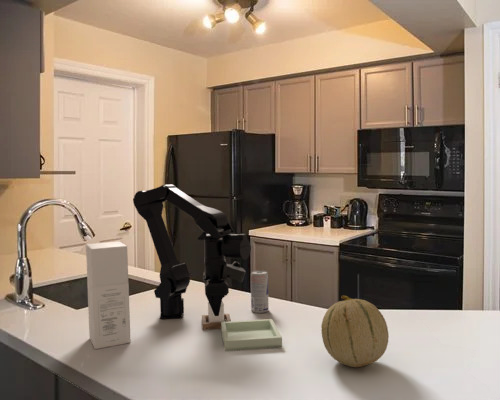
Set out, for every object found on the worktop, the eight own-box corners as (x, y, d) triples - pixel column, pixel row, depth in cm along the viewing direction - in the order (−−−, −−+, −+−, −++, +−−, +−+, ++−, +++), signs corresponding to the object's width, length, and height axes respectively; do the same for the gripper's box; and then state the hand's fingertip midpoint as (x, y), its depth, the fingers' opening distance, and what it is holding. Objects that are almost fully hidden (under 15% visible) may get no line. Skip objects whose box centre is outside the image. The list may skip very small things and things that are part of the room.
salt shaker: (210, 327, 128) (209, 293, 127) (208, 322, 131) (207, 289, 131) (224, 325, 129) (224, 292, 128) (221, 321, 132) (221, 288, 132)
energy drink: (269, 308, 144) (268, 270, 143) (268, 313, 139) (267, 274, 138) (252, 307, 145) (251, 270, 144) (250, 313, 139) (249, 274, 139)
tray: (225, 351, 110) (224, 340, 110) (221, 331, 124) (221, 322, 124) (282, 347, 112) (281, 337, 112) (272, 327, 126) (272, 319, 126)
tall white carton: (123, 332, 125) (120, 241, 123) (130, 342, 117) (127, 245, 115) (89, 338, 120) (85, 244, 119) (94, 349, 113) (90, 249, 111)
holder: (202, 329, 126) (202, 324, 125) (201, 320, 134) (201, 315, 133) (231, 327, 127) (231, 322, 126) (229, 318, 134) (229, 313, 134)
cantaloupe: (377, 385, 92) (377, 311, 91) (310, 369, 100) (309, 301, 99) (396, 358, 104) (396, 294, 103) (335, 346, 112) (335, 286, 111)
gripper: (247, 261, 121) (248, 319, 122) (239, 249, 139) (240, 300, 140) (204, 263, 119) (205, 322, 120) (202, 251, 138) (204, 302, 139)
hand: (215, 310), depth 130 cm, fingers open, 9 cm apart
